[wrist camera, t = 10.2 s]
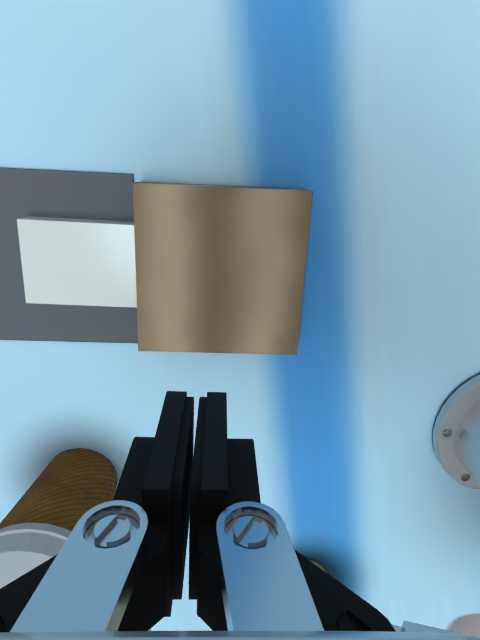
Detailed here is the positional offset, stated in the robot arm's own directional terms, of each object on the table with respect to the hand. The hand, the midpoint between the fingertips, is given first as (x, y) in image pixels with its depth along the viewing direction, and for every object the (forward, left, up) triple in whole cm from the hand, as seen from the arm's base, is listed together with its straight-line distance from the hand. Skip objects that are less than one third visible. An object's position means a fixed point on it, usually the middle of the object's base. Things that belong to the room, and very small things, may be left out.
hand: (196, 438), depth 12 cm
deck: (-1, 0, -23) cm, 23 cm away
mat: (+12, 0, -23) cm, 25 cm away
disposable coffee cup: (+11, +20, -23) cm, 32 cm away
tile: (+9, 0, -22) cm, 24 cm away
